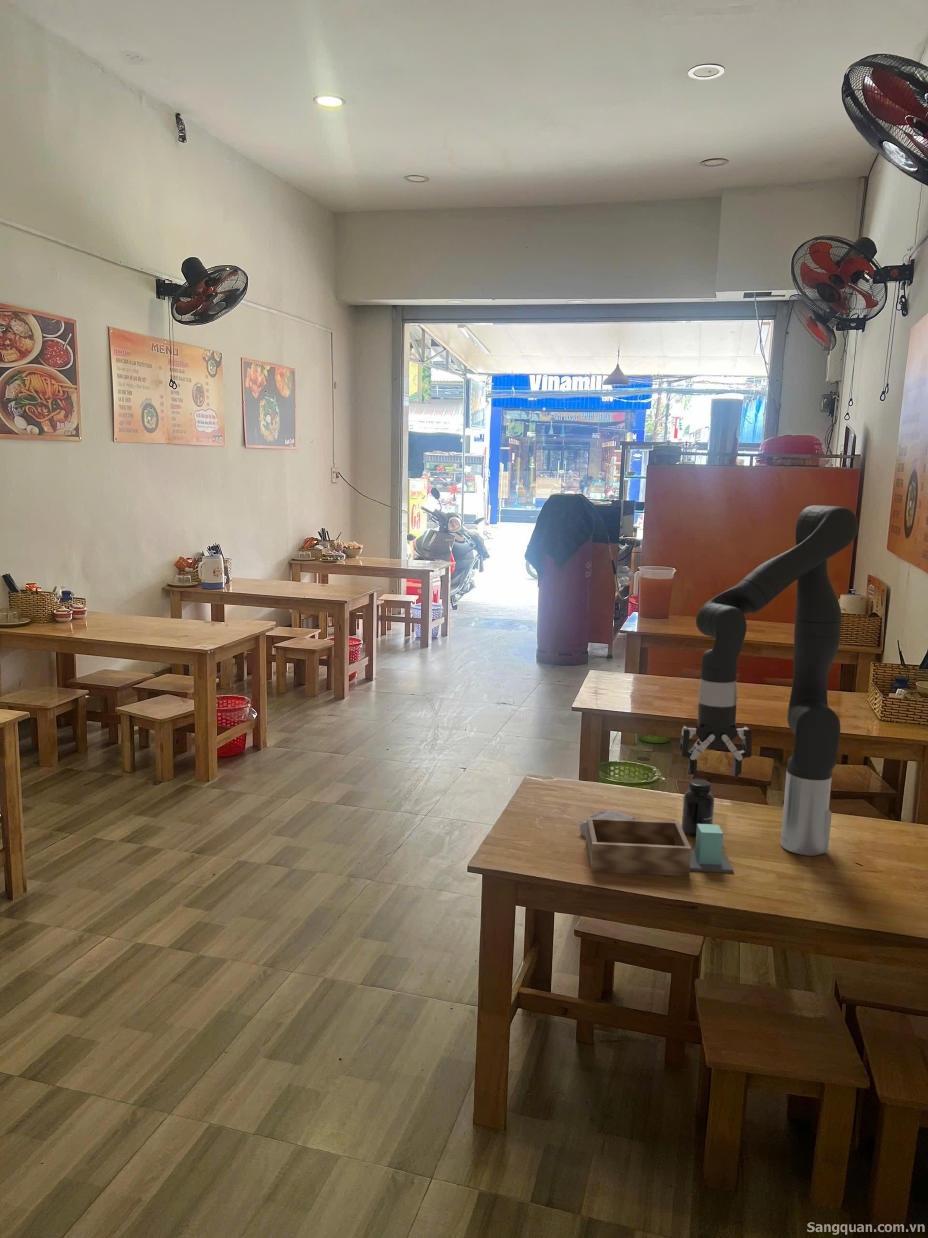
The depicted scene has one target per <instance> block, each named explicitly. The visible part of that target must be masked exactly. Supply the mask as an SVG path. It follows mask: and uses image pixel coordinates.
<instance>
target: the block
mask: <svg viewBox="0 0 928 1238" xmlns="http://www.w3.org/2000/svg"><path fill="white" fill-rule="evenodd" d="M723 842H724V832H723V830H722V829H721V827H720V825H719V824H697V831H696V837H695V849H694V850H695V856H696V858H697V860H698V862H699V864H713V865H721V856H722V852H723Z"/></svg>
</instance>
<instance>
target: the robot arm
mask: <svg viewBox="0 0 928 1238" xmlns="http://www.w3.org/2000/svg"><path fill="white" fill-rule="evenodd" d="M858 529H859V521H858V518H857V515H856V514H855V512H854V511H853V510H851V509H849V508H848V507H843V506H839V505H837V506H836V505H819V504H818V505H817V504H816V505H809V506H806V507H805V508H803V510H802V511H801V512H800V513H799V515H798V517H797V519H796V524H795V546H794V547H792V548H790V549H788V550H786V551H785V552H783V553H780V554H778V555H776V556H773V557H772V558H770V559H768V560H766V561H764V562H763V563H761V564H760V565H758V566H757V567H756V568H754V569H753V570H751V571H750V572H749V573H748V574H747V575H746V576H745V577H743V579H741V580H740V581H739V582H738V583H737V584H736V585H734V586H732V587H730V588H728V589H727V590H725V591H723V592H721V593H720V594H718V595H716V596H714V597H713V598H711V599H709V600H708V601H707V602H705V603H704V604H703V605H702V606H701V608H700V609H699V611H698V612H697V614H696V617H695V624H696V627H697V629H698V631H699V632H700V633H701V634H702V635H705V636H708V637H711V638H713V639H714V643H713V646H712V647H713V648H711V649H708V650H706V651H704V652H703V654H702V656H701V663H700V665H701V668H700V680H699V681H700V683H699V687H698V705H697V707H698V708H697V725H696V726H695V727H687V726H685V725H683V726H682V727H681V730H680V731H681V733H680V740H679V741H680V742H679V750H678V751H679V753H680V755H681V756H682V758H687V759H688V763H687V764H688V765H687V770H688V773H689V774H690V775H691V777H692V778H697V773H698V772H697V771H698V760H697V758H698V757H699V756H700V754H702V753H703V752H704V751H705V750H706V749H708V750H715V749H717V750H725V749H726V748H728V750H729V751H730V752H731V753H732V755H733V756H734V757H732V768H731V769H732V770H731V773H732V776H733V777H734V778H739V776H741V774H742V763H743V760H744V759H747V758H748V759H749V758H751V757H752V756H753V755H752V754H753V752H752V750H753V749H752V744H753V743H752V730H751V729H750V728H749V727H748V726H746V725H745V726H743V727H742V728H737V726H736V723H737V722H736V721H737V701H738V687H737V676H738V675H737V673H738V672H737V671H738V660H739V656H740V654H741V651H742V648H743V644H744V641H745V637H746V635H747V634H746V633H747V627H748V626H747V625H748V624H747V619H746V616H745V615H747V614H754V613H757V612H760V611H761V610H762V609H764V608H765V607H766V606H767V605H768V604H769V603H770V602H772V601H773V600H774V599H775V598H776V597H778V595H780V594H781V592H783V591H784V590H786V589H787V587H789V586H790V585H792V584H793V583H794V582H795V581H796V605H795V614H794V629H793V630H794V632H793V636H794V638H793V639H794V640H793V675H792V676H793V677H792V684H791V691H790V697H789V702H788V709H787V714H786V715H787V716H786V717H787V723H788V727H789V729H790V731H791V732H792V733H793V734H794V742H793V743H794V744H793V752H792V755H791V756H790V757H788V759H787V763H786V773H785V774H786V775H785V787H784V798H783V808H782V809H783V810H782V822H781V831H780V843H779V844H780V846H781V847H782V848H783V849H785V850H786V851H788V852H790V853H793V854H798V855H801V856H812V857H813V856H819V855H822V854H829V848H830V847H829V846H830V836H831V835H830V834H831V824H832V816H833V814H832V811H831V810H830V801H831V800H830V798H831V787H832V786H831V785H832V776H833V770H834V768H835V766H836V764H837V760H838V755H839V746H840V740H841V721H840V718H839V716H838V715H837V713H836V712H835V711H834V710H833V709H832V708H830V707H829V704H828V681H829V680H828V678H829V674H830V670H831V668H832V665H833V662H834V661H835V658H836V655H837V653H838V650H839V646H840V641H841V633H842V608H841V606H840V602H839V599H838V596H837V595H836V592H835V590H834V589H835V588H834V587H833V585H832V583H831V580H830V576H829V571H828V559H830V558H832V557H833V556H835V555H836V554H839V552H842V551H843V550H845V549H846V548H848V546H849V545H851V544H852V543H853V542H854V540H855V539H856V536H857V534H858V531H859V530H858ZM694 735H696V736H697V738H698V739H697V740H695V743H694V744H693V746H692V747H691V748H690V749H689V743H690V739H692V738H693V736H694ZM738 735H739V738H741V740H742V750H739V749H738V748H737V747H736V746H735V744H734V743H733V741H734V740H735V739H736V737H737V736H738Z"/></svg>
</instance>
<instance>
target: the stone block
mask: <svg viewBox="0 0 928 1238" xmlns="http://www.w3.org/2000/svg"><path fill="white" fill-rule="evenodd" d="M589 818H611V819H634V820H636V817H634V816H630V815H628V814H626V813H623V812H619V811H616V810H601V811H597V812H596V813H593V814H592V815H590V816H589ZM579 829H580V834H581V836H582V837H584V838H586V833H587V819H585V820H584V821H582V822H580V825H579Z"/></svg>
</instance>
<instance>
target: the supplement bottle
mask: <svg viewBox="0 0 928 1238" xmlns="http://www.w3.org/2000/svg"><path fill="white" fill-rule="evenodd" d="M711 791H712V783H711V782H710V781H708V780H705V779H699V778H696V779H695V778H694V779H690V780H689V784H688V790H687V791H686V792H685V793H684V795H683V802H682V804H683V805H682V813H681V815H682V817H681V827H682V829H683V832H684V834H685V835H688V836H691V837H694V838H696V831H697V824H713V821H714V812H715V811H714V808H715V798H714V795H712V793H711ZM713 825H714V824H713Z"/></svg>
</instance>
